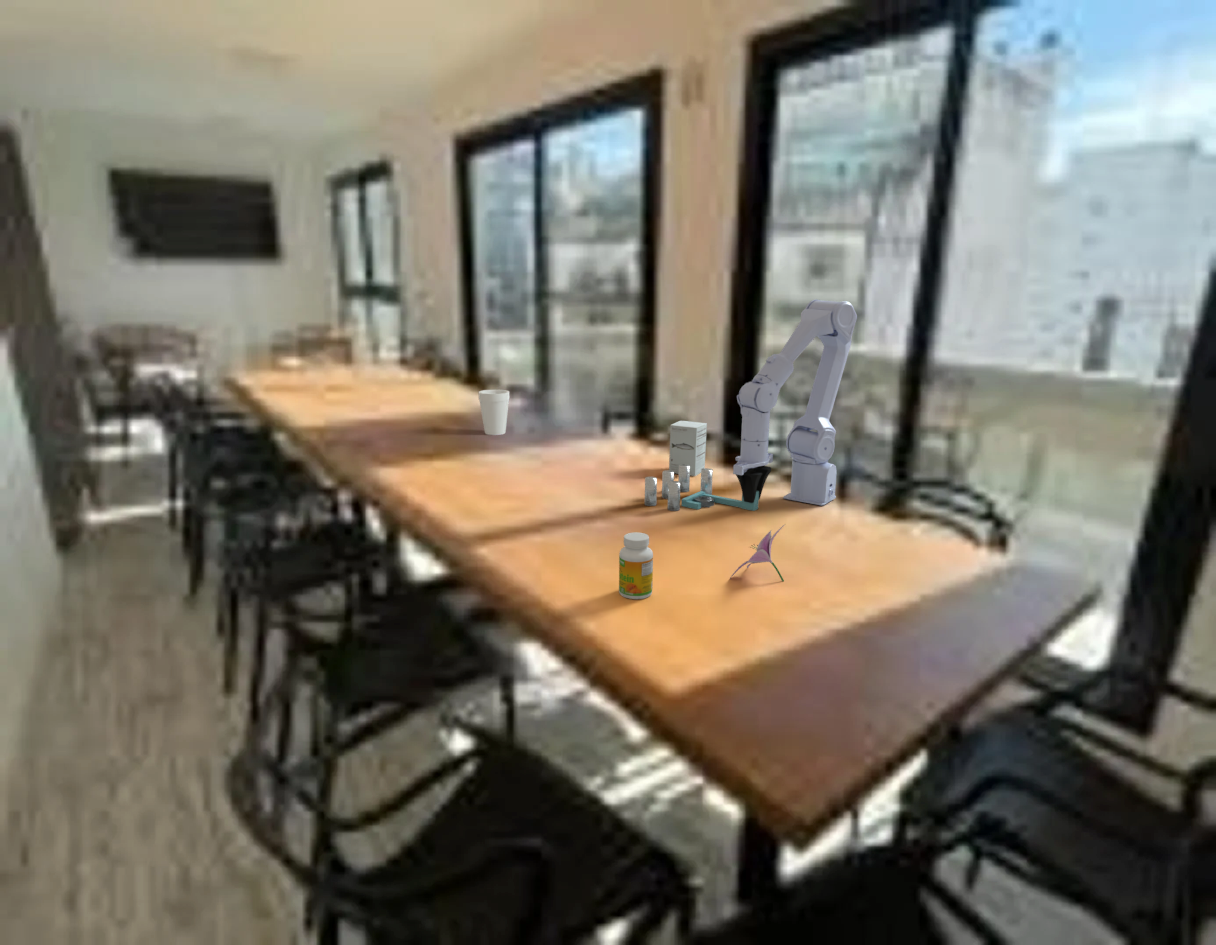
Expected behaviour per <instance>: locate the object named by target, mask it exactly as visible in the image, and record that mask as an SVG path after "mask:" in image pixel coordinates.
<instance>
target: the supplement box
mask: <svg viewBox="0 0 1216 945" xmlns="http://www.w3.org/2000/svg"><path fill="white" fill-rule="evenodd" d="M707 427H708V423H707V422H698V421H691V420H679V421H676V422H674V423H672V424H670V427H669V429H670V431H669V433H670V434H669V456H668V457H669V459H668V460H669V462H668V470H670V471H674V474H677V475H679V465H682V464H686V465H690V477H697V476H698V475H699V474H700V475H701V469H703V468H706V467H705V466H706V450H707V449H706V448H707V431H708V430H707V429H708V428H707Z"/></svg>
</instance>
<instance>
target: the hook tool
mask: <svg viewBox="0 0 1216 945" xmlns="http://www.w3.org/2000/svg"><path fill="white" fill-rule="evenodd" d="M698 496H709V497H711V498H713V499H714V503H715V504H721V505H727V506H732V507H737V508H740V509H742V510H748V511H752V512H755V511H757V510H759V501H760V499H759V491H756V496H755V500H754V502H753V503H749V502H744V499H743V494H741V500H740V499H736V498H735V499H734V498H730V497H724V496H719V495H714V494H712V495H710V494H705V492H704V491H701V490H700V491H698V492H695V493H692V494H691V495H687V496H686V497H683V498H682V499H681V507H684V508H689V509H694V510H700V509H701V508H702V507H701V503H699V502H694V501H693V498H696V497H698Z"/></svg>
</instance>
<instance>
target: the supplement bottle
mask: <svg viewBox="0 0 1216 945" xmlns="http://www.w3.org/2000/svg"><path fill="white" fill-rule="evenodd" d="M649 545H650V535H649V534H647V533H644V532H643V533H642V532H629V533H626V534H624V535H623V546H624V547H622V548H621V549H620V550H619V554H618V557H619V558H618V560H619V561H618V564H619V565H618V568H619V569H618V579H619V580H618V593H619V595H621V596H622V597H623V598H626V599H628V600H629V599H630V600H643V599H647V598H649V597H651V595H652V593H653V577H654V574H653V573H654V571H653V570H654V568H653V567H654V552H653V550H652V549H651V548H650V547H649Z"/></svg>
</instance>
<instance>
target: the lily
mask: <svg viewBox="0 0 1216 945" xmlns="http://www.w3.org/2000/svg"><path fill="white" fill-rule="evenodd" d="M784 526H785V524H783V525H782V526H781V527H779V529H778V530H777V531H776V532H774V534H773V535H772V530H769V531H768V532H767V533H766V535H764V537H763V538H762V539H761V541H760V542H759V543H758V544H756V545H755V544H753V545H752V544H751V545H750V546H749V548H752V549H753V550H755V551H756V552H754V553H753V555H752V556H750V558H749V559H748V560H746V561H744V562H743V563H741V564H740V565H739V566H738V567H737V569H735V570H734V572H733V573H732V575H731V576H730V577H729V579H731V578H732V577H733V576H734V575H735V574H736V573H737V572H738V571H739V570H740V569H742V568H743V567H744V566H745V565H746V568H747V569H748V568H749V567H750V566H751V564H760V563H761V564H762V563H770V564H771V565H772V566H773V567H774V569H775V571H776V572H777V575H778V576H779V578H780V579H781V582H784V581H785V580H784V578H783V576H782V574H781V573H780V571H779V569H778V567H777V566H776V564H774V562H773V560H772V557H771V553H772V544H773V540H774V539H775V537H776V536H777V534H778V533H779V532H780V530H782V529H783V528H784Z"/></svg>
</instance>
